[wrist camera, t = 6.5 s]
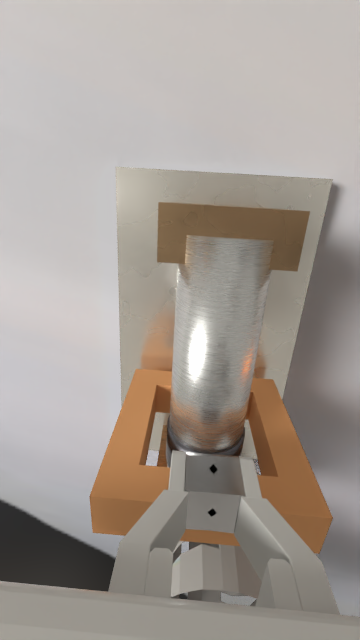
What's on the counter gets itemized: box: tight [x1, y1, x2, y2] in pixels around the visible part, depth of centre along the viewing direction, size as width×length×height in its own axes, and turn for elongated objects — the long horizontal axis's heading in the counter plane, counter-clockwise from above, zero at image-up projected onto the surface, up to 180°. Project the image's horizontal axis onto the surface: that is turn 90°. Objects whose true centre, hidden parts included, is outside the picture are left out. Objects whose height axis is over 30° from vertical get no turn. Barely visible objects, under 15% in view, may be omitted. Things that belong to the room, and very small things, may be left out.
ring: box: [90, 369, 333, 554], centre depth 15 cm, size 9×2×9 cm, turn 87°
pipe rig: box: [116, 167, 333, 468], centre depth 15 cm, size 11×19×8 cm, turn 177°
